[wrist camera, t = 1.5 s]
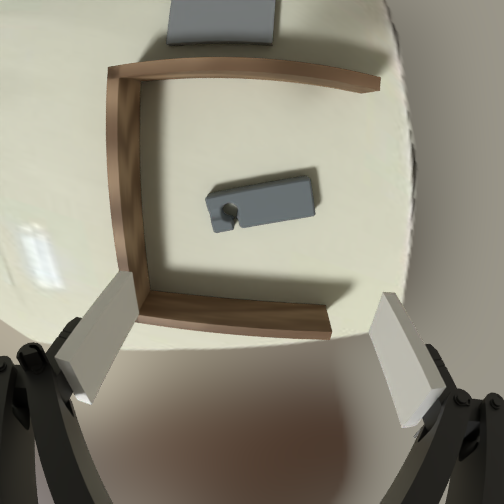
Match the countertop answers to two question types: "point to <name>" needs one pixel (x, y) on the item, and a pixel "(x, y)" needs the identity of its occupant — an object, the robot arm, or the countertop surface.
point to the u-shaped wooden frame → (130, 204)
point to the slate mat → (221, 22)
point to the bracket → (262, 203)
